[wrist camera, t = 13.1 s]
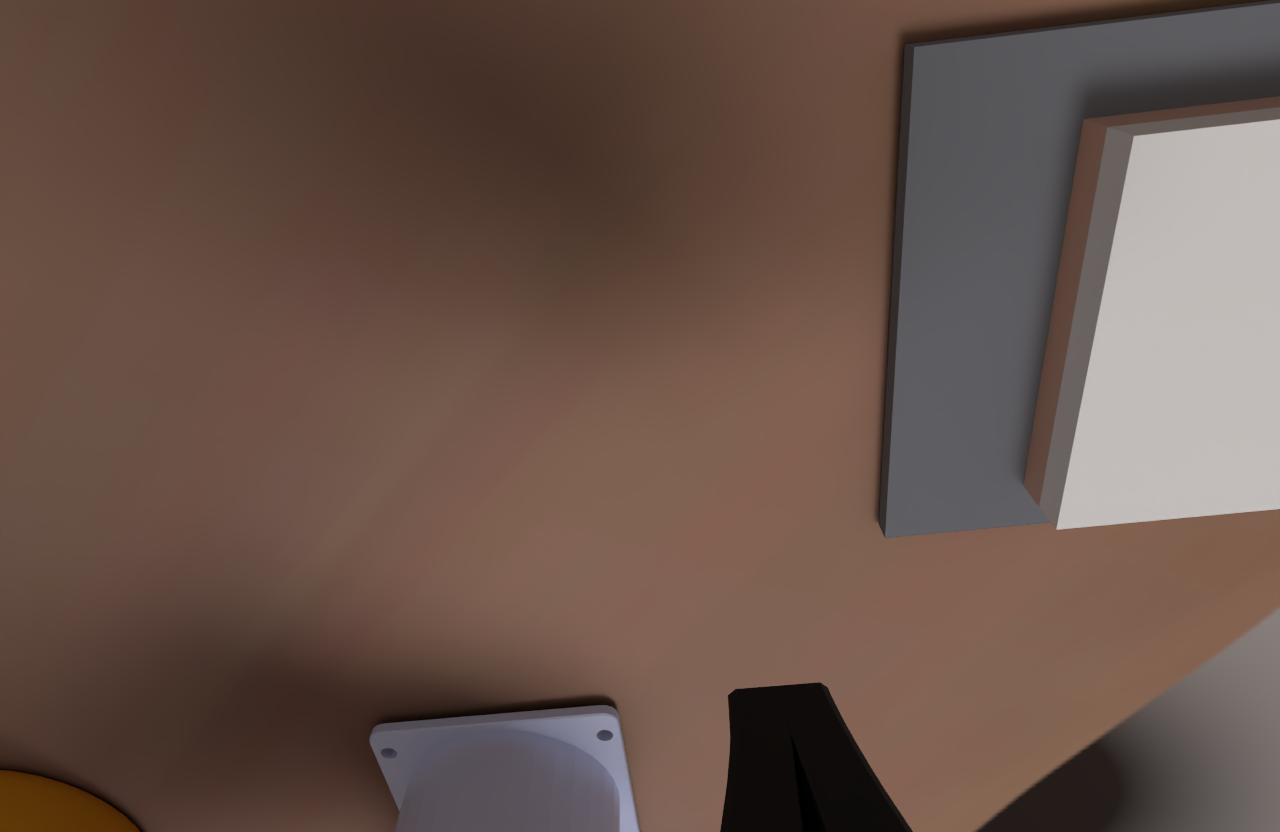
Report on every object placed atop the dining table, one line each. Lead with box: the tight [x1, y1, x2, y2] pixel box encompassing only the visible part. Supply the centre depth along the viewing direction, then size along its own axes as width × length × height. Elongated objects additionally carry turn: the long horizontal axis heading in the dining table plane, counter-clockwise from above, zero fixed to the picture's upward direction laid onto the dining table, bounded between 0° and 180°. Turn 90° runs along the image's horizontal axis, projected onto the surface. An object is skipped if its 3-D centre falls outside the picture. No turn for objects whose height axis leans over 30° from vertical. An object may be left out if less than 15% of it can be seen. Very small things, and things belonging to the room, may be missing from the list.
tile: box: [1023, 96, 1280, 530], centre depth 17 cm, size 9×2×6 cm
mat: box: [879, 0, 1280, 538], centre depth 18 cm, size 12×10×1 cm
